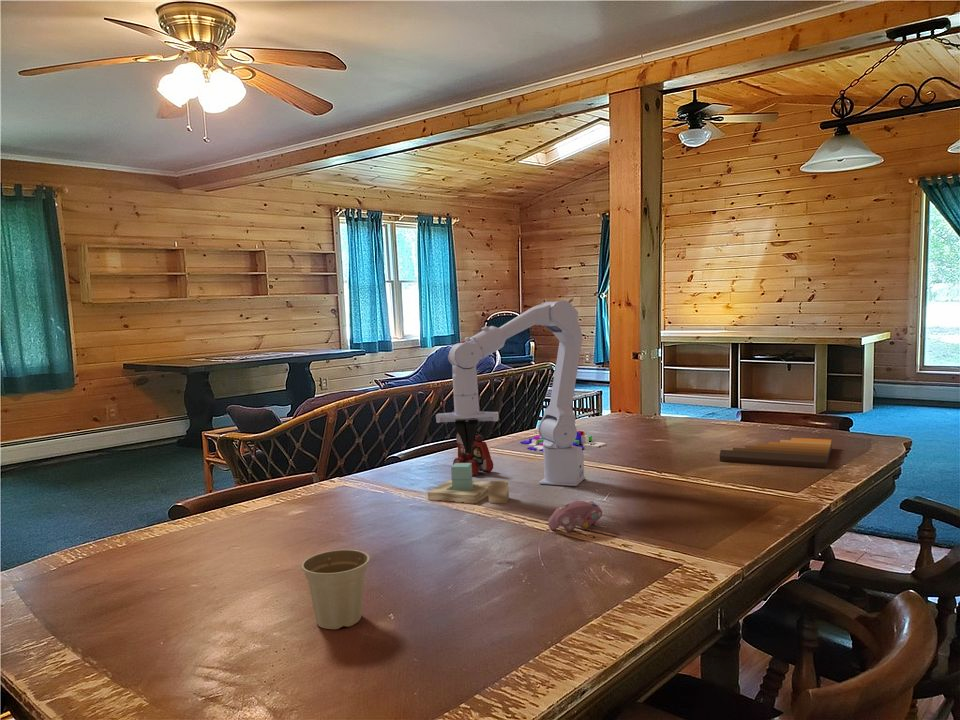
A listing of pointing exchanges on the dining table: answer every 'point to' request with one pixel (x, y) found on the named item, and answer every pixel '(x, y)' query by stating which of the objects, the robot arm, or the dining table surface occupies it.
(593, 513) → the video game controller
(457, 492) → the base plate
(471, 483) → the teal brick
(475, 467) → the toy fire truck
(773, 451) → the pan flute
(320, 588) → the flower pot
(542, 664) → the dining table surface
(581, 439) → the building block set
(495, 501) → the maple cube
